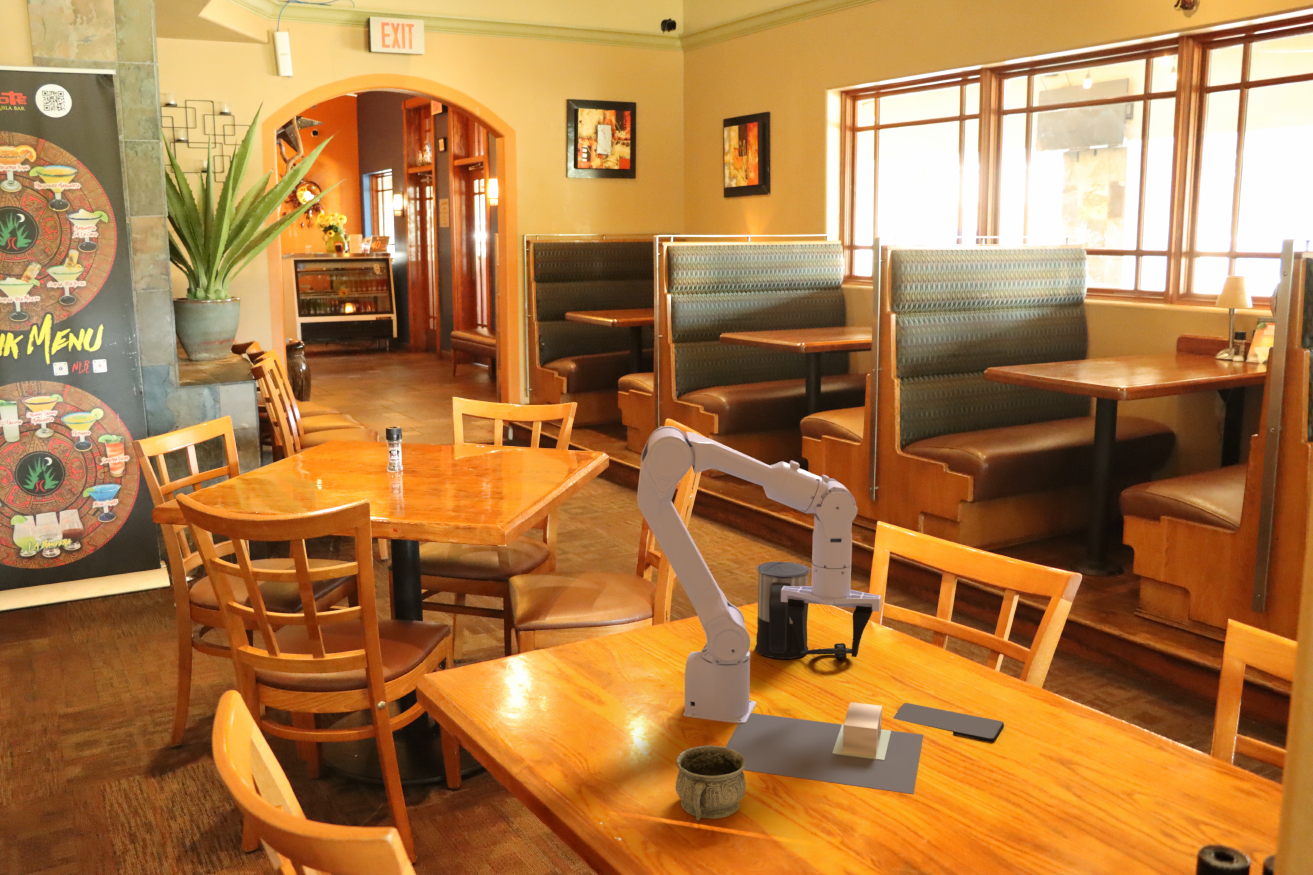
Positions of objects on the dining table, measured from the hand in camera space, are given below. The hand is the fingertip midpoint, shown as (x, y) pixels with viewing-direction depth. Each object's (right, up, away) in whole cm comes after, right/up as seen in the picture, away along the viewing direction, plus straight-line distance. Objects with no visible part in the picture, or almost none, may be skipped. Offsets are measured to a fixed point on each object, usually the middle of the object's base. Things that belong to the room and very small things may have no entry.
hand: (828, 651), depth 163 cm
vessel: (-19, -14, -27) cm, 36 cm away
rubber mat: (-3, -12, -12) cm, 17 cm away
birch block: (+3, -11, -10) cm, 15 cm away
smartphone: (+17, -11, -2) cm, 20 cm away
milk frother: (0, -6, +25) cm, 25 cm away
